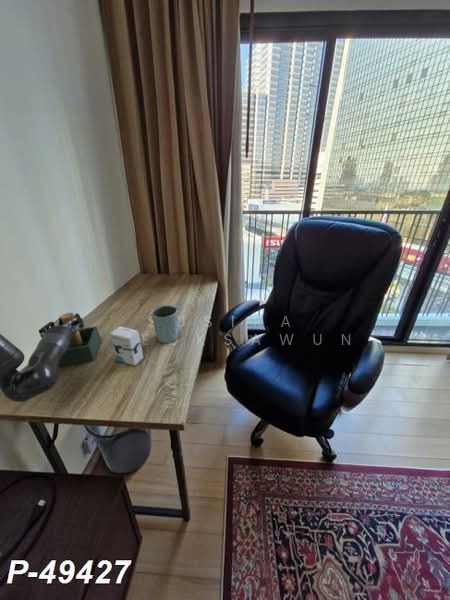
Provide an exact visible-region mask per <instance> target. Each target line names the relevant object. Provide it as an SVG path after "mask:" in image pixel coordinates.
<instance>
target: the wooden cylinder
mask: <svg viewBox="0 0 450 600" xmlns="http://www.w3.org/2000/svg"><path fill="white" fill-rule="evenodd" d="M74 316H75V314H74V313H73V312H67V313H66V312H65V313H63V314H61V315H60V318H61V320H62V323H63V324H66V323H67V322H68V321H69V320H72V319H73V318H74ZM77 326H78V325H77ZM77 326H76V327H77ZM81 344H82V339H81V336H80V333H79V331H76V333H75V334H74V335H73V338H72V341H71V343H70V346H71V347H76V346H79V345H81Z"/></svg>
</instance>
